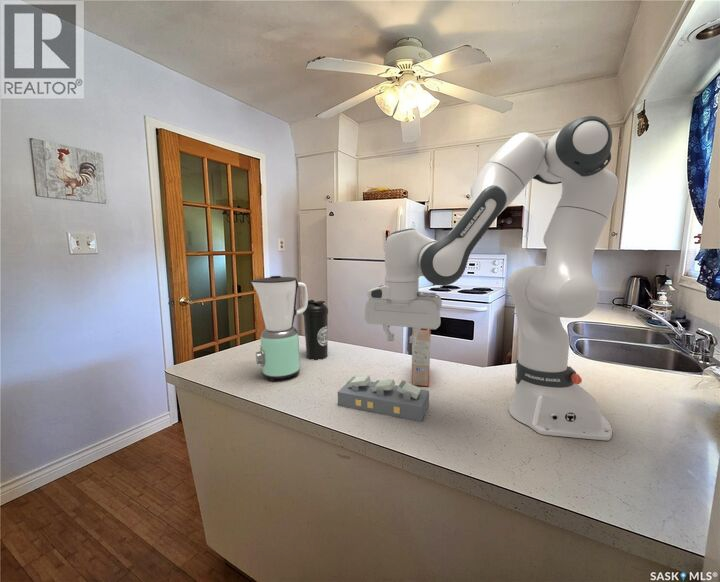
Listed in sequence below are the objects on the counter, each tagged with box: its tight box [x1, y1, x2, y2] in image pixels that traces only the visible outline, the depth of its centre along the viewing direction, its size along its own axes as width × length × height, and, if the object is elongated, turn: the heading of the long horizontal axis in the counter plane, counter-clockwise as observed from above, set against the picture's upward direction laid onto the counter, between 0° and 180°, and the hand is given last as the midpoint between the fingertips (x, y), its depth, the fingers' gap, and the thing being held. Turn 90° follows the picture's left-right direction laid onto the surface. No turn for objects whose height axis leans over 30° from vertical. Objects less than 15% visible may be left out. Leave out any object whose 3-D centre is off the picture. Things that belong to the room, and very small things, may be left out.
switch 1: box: [346, 375, 371, 387], centre depth 95 cm, size 6×4×2 cm
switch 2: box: [371, 378, 396, 392], centre depth 93 cm, size 6×4×2 cm
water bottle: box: [302, 299, 329, 361], centre depth 132 cm, size 10×10×23 cm
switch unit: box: [337, 380, 430, 423], centre depth 93 cm, size 24×10×6 cm, turn 67°
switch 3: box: [397, 379, 422, 399], centre depth 90 cm, size 6×4×2 cm
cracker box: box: [411, 327, 432, 387], centre depth 110 cm, size 14×6×21 cm, turn 168°
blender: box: [250, 275, 309, 383], centre depth 114 cm, size 19×13×35 cm
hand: (401, 341), depth 88 cm, fingers open, 5 cm apart
